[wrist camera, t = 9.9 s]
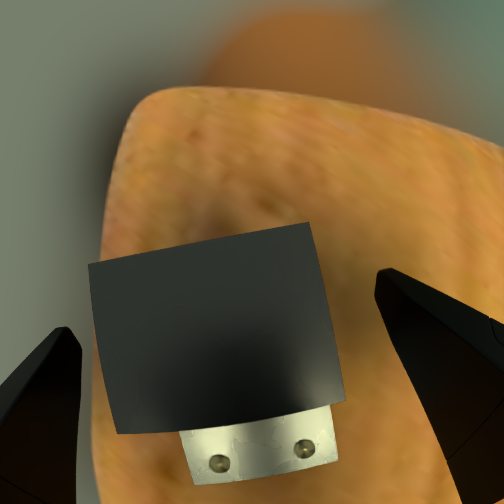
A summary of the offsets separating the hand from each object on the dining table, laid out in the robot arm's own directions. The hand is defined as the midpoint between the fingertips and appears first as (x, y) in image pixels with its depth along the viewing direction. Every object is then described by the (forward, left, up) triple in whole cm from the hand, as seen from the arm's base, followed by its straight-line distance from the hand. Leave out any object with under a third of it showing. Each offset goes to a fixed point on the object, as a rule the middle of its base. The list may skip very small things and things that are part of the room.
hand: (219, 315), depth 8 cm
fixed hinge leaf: (-4, -4, -8) cm, 10 cm away
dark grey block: (0, 0, -8) cm, 8 cm away
